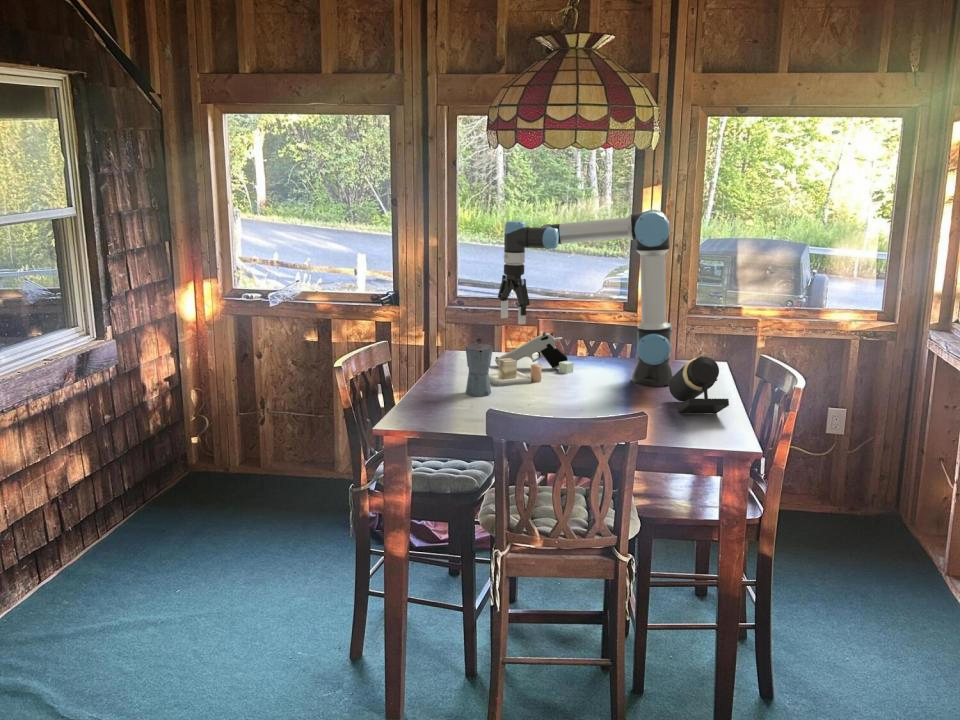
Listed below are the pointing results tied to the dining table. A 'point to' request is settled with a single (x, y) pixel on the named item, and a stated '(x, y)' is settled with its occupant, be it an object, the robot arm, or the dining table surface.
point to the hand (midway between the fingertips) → (512, 321)
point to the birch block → (507, 368)
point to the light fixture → (697, 386)
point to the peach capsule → (536, 373)
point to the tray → (519, 379)
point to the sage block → (566, 367)
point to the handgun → (538, 350)
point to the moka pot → (478, 368)
